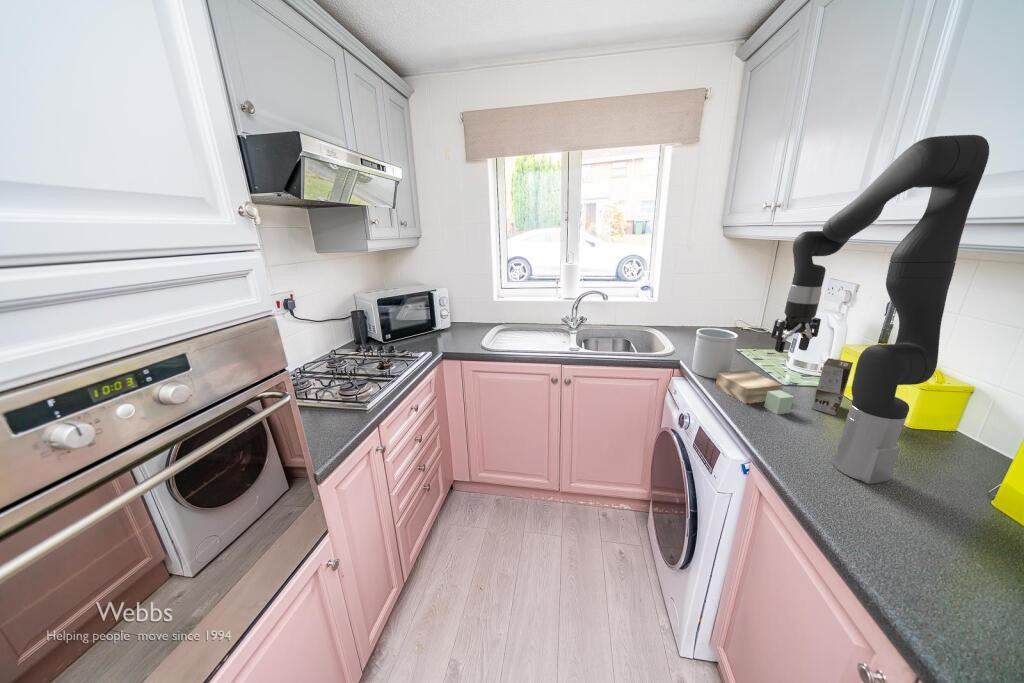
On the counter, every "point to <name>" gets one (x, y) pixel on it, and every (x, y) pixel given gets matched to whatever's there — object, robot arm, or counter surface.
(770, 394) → the sage block
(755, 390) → the birch block
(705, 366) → the utensil holder
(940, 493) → the counter surface
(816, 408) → the coffee box
